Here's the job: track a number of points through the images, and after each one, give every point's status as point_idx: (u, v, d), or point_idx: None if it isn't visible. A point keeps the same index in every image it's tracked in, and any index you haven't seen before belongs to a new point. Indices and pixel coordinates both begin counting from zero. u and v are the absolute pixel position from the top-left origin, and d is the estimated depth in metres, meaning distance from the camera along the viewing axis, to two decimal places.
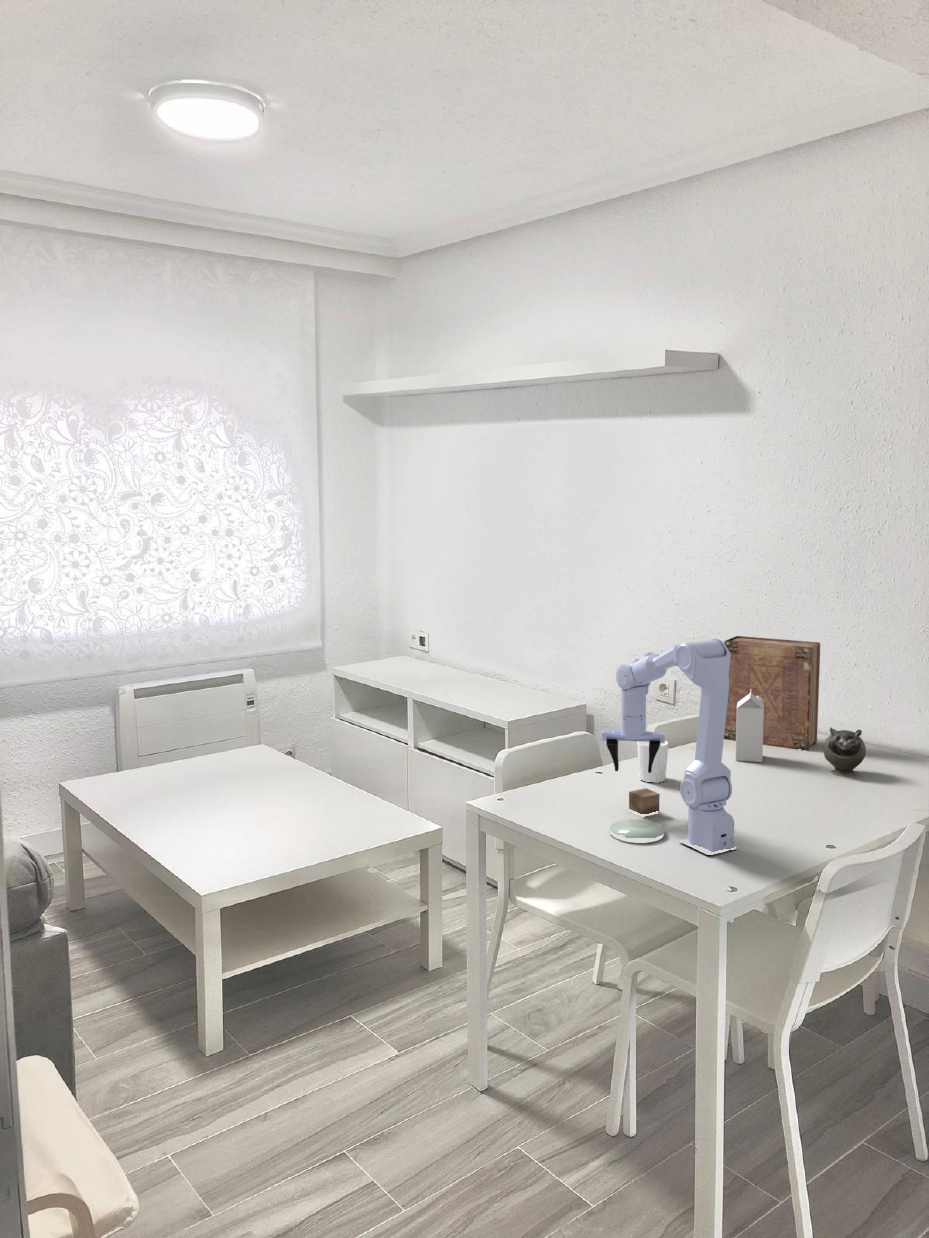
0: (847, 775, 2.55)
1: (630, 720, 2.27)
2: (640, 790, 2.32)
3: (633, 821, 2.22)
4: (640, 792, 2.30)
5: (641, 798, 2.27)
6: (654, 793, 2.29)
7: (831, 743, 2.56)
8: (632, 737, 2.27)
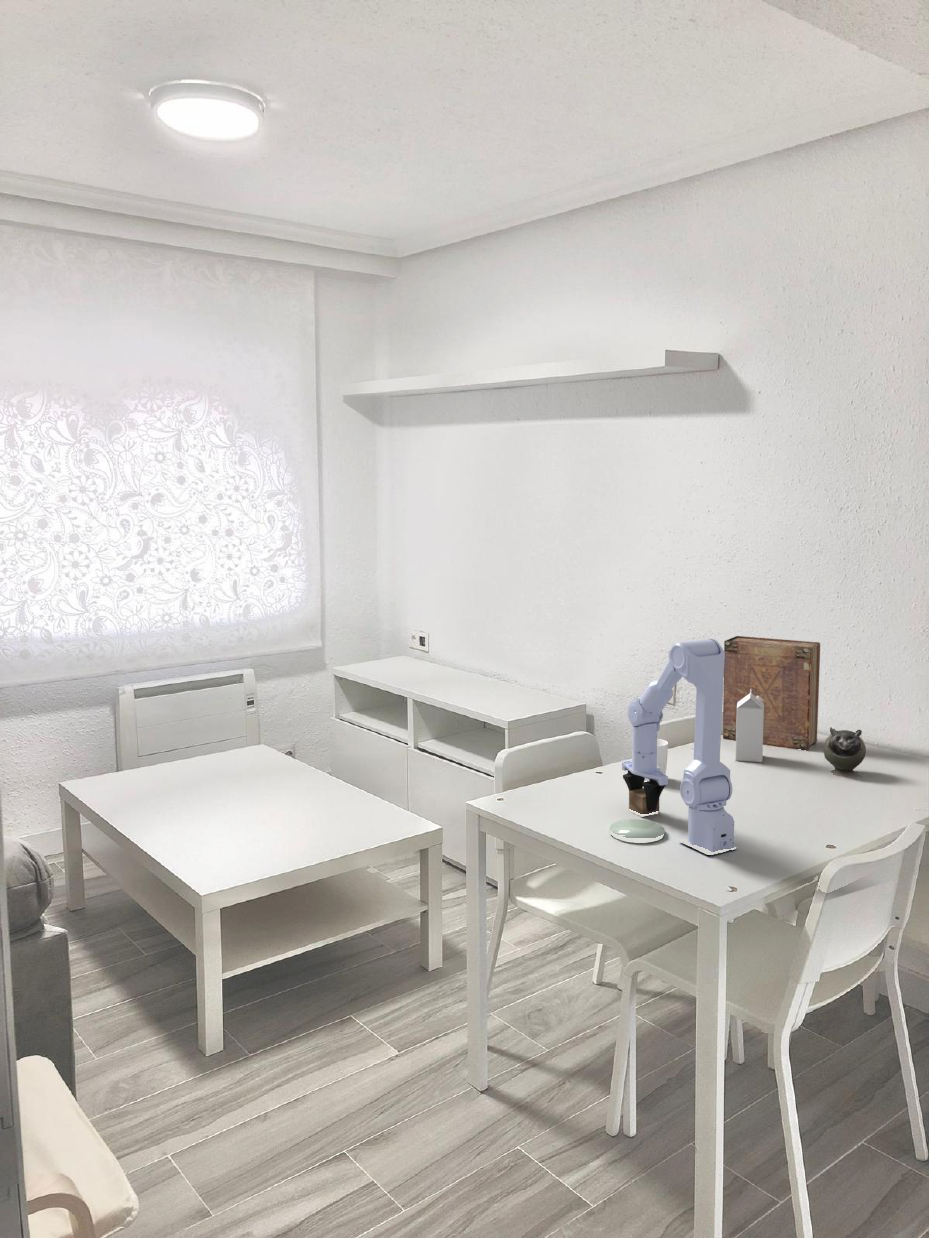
0: (847, 775, 2.55)
1: (633, 755, 2.28)
2: (640, 790, 2.32)
3: (633, 821, 2.22)
4: (640, 792, 2.30)
5: (641, 798, 2.27)
6: None
7: (831, 743, 2.56)
8: (633, 772, 2.28)
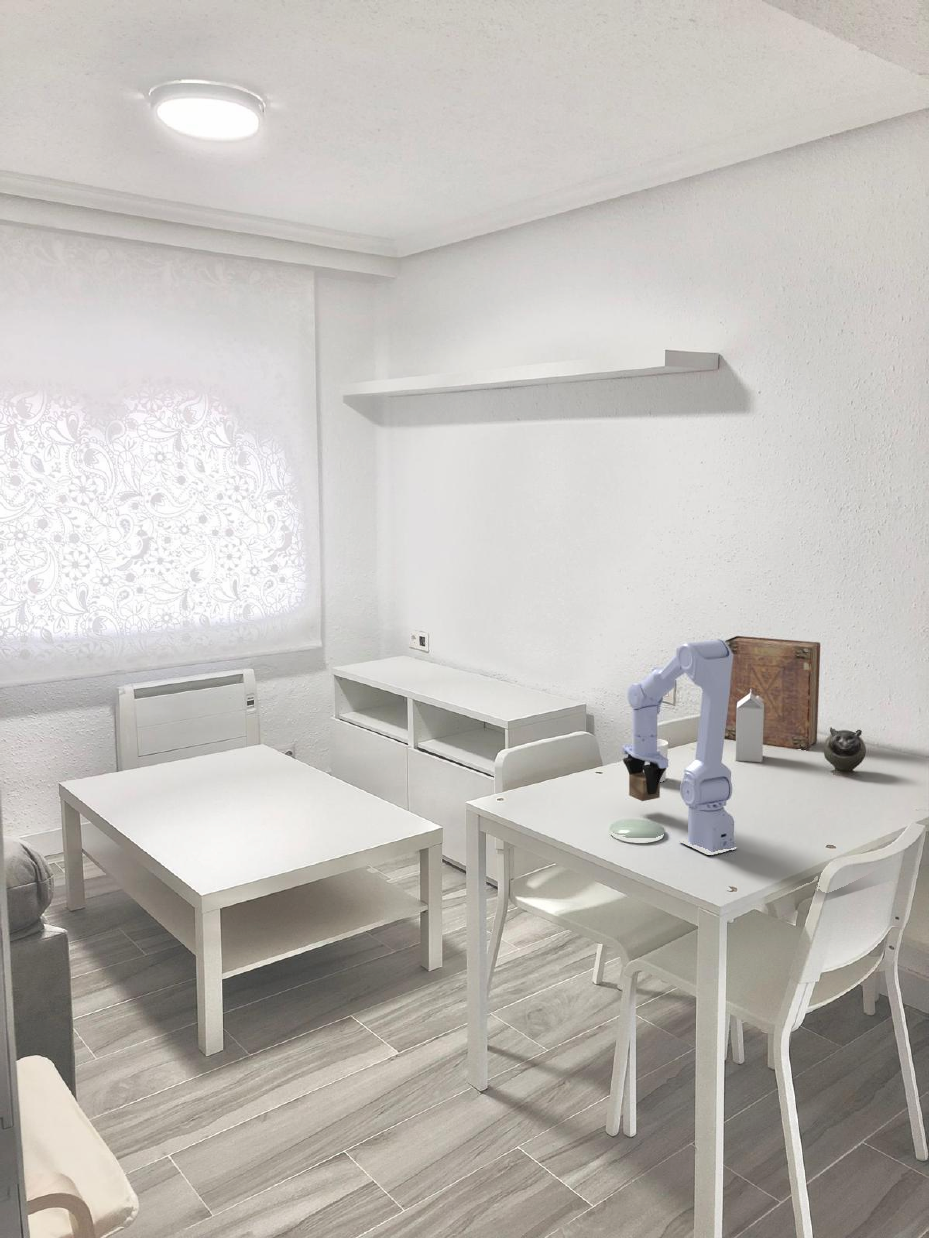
0: (847, 775, 2.55)
1: (633, 738, 2.27)
2: (640, 773, 2.31)
3: (633, 821, 2.22)
4: (640, 776, 2.29)
5: (641, 781, 2.27)
6: None
7: (831, 743, 2.56)
8: (634, 755, 2.27)
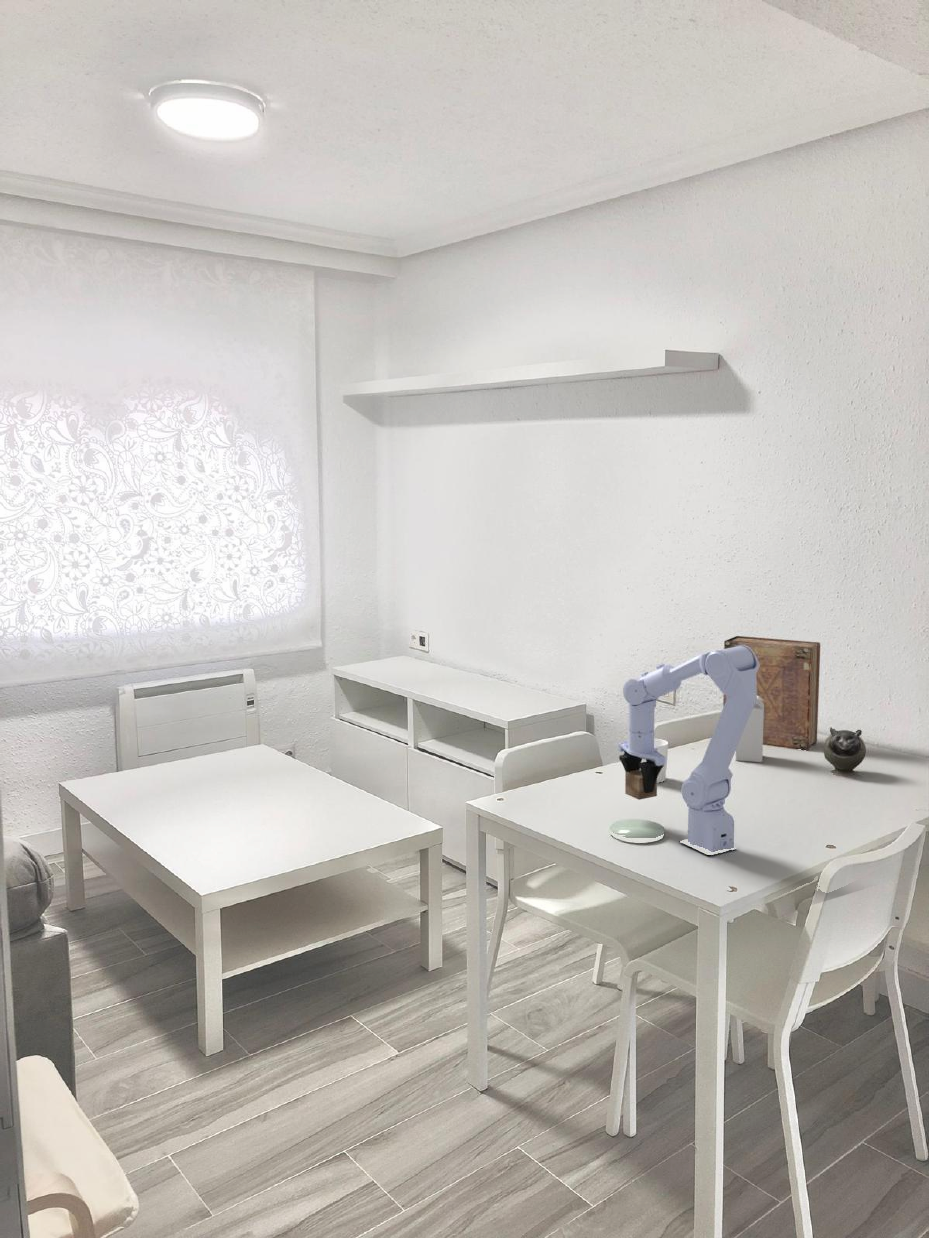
0: (847, 775, 2.55)
1: (629, 734, 2.20)
2: (637, 771, 2.23)
3: (633, 821, 2.22)
4: (637, 773, 2.22)
5: (638, 779, 2.19)
6: None
7: (831, 743, 2.56)
8: (630, 752, 2.20)
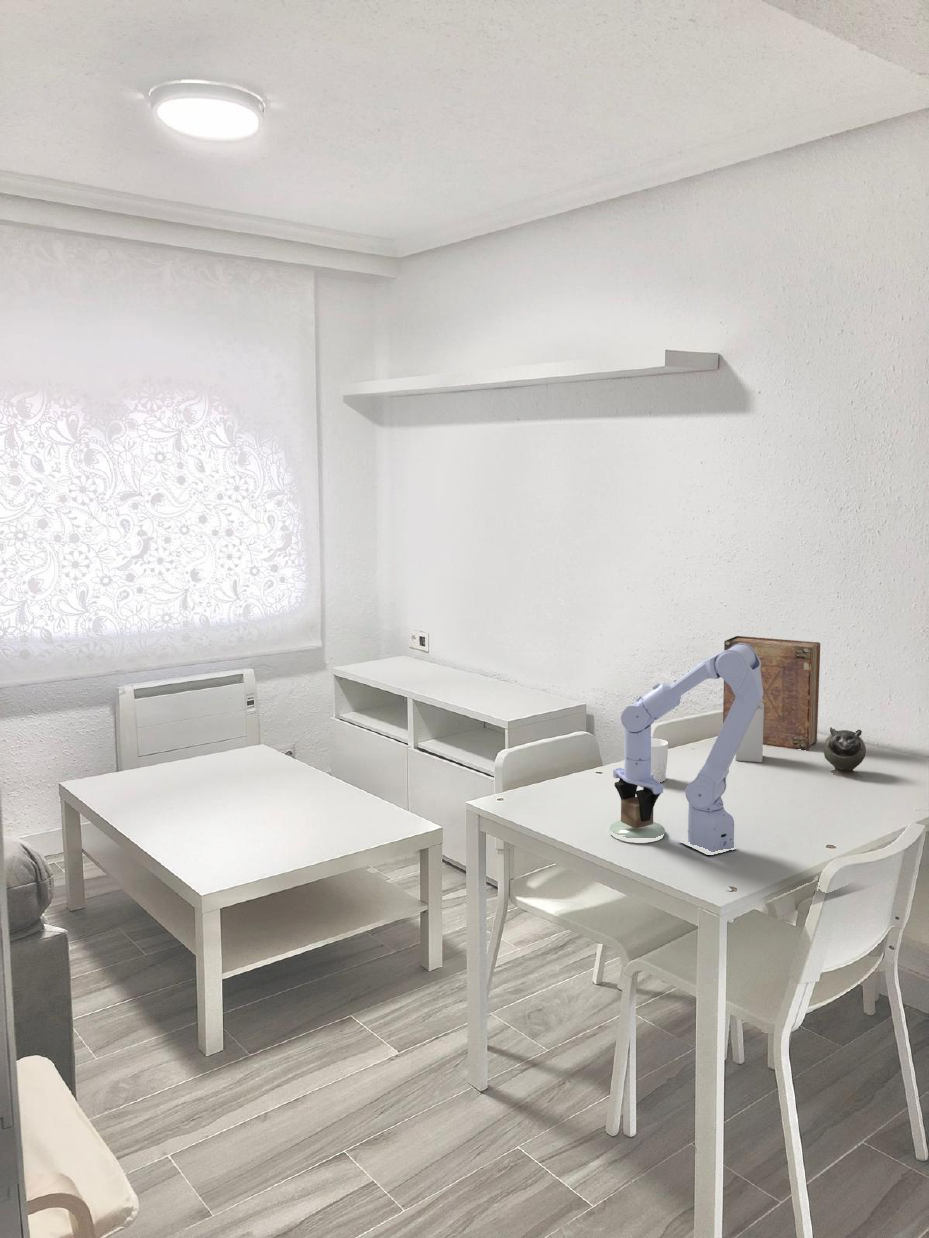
0: (847, 775, 2.55)
1: (626, 761, 2.14)
2: (633, 798, 2.18)
3: None
4: (633, 801, 2.16)
5: (634, 807, 2.13)
6: None
7: (831, 743, 2.56)
8: (626, 780, 2.14)
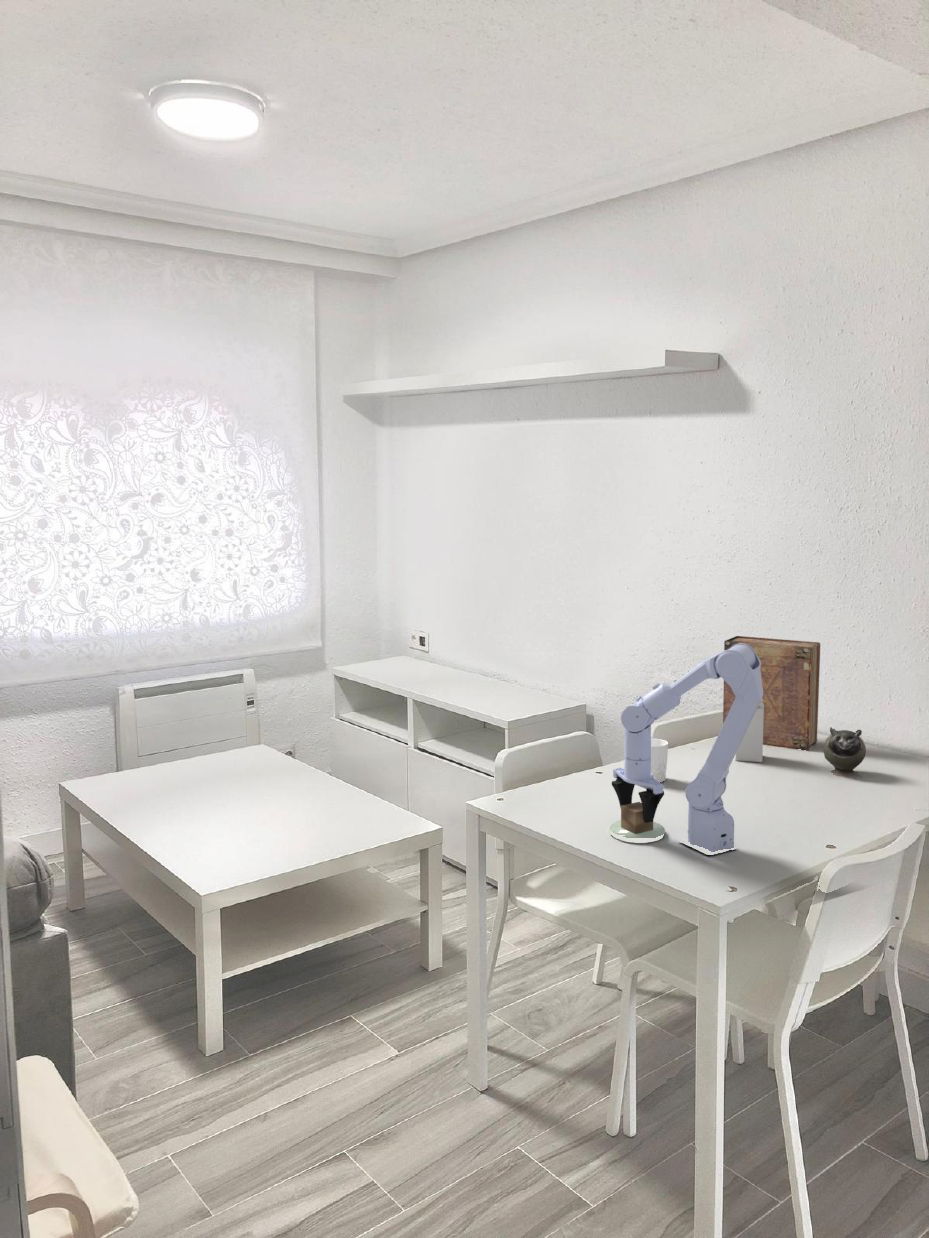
0: (847, 775, 2.55)
1: (626, 761, 2.14)
2: (633, 804, 2.18)
3: None
4: (633, 807, 2.16)
5: (634, 813, 2.14)
6: None
7: (831, 743, 2.56)
8: (626, 780, 2.14)
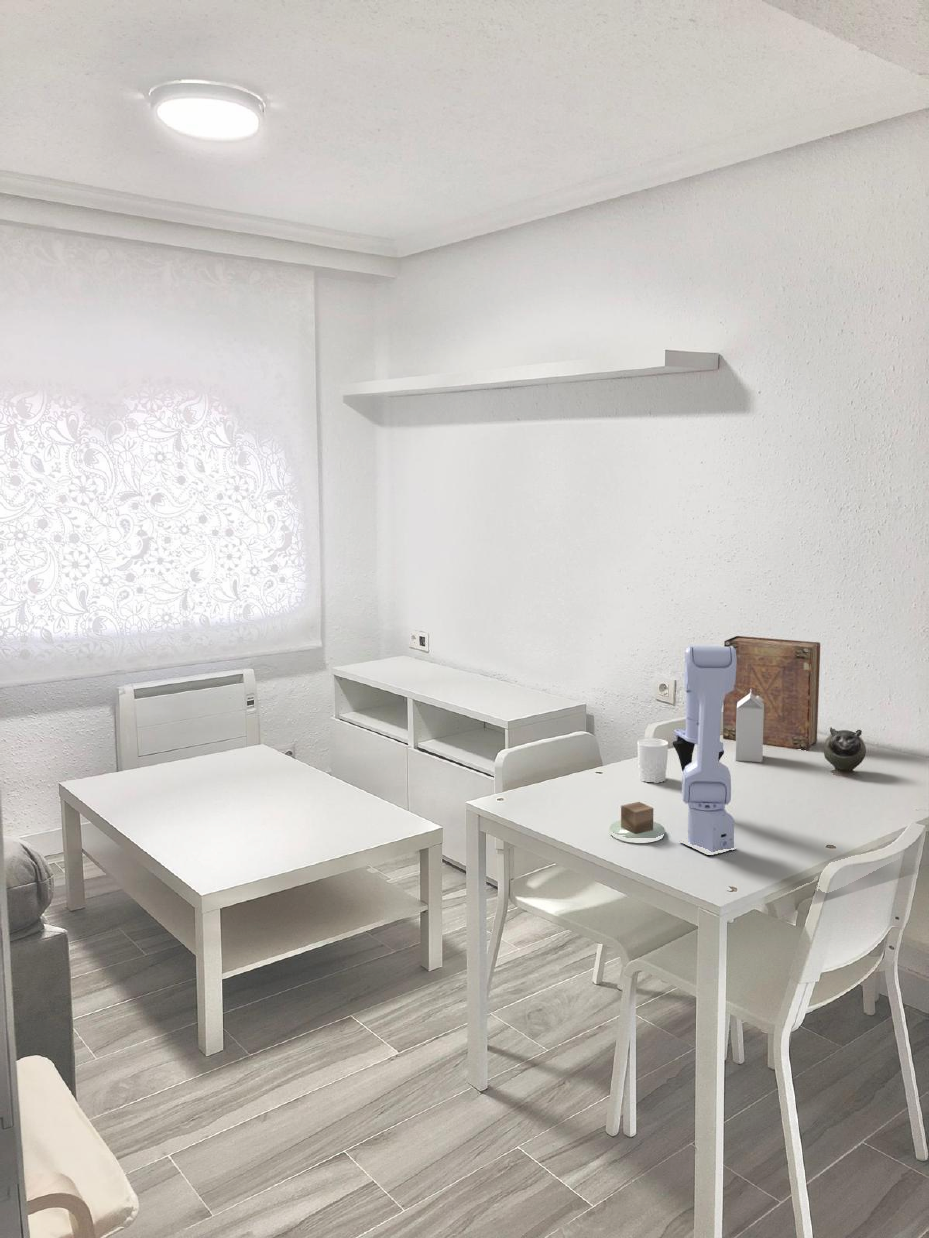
0: (847, 775, 2.55)
1: (687, 722, 2.25)
2: (633, 804, 2.18)
3: None
4: (633, 807, 2.16)
5: (634, 813, 2.14)
6: (648, 807, 2.16)
7: (831, 743, 2.56)
8: (687, 739, 2.25)
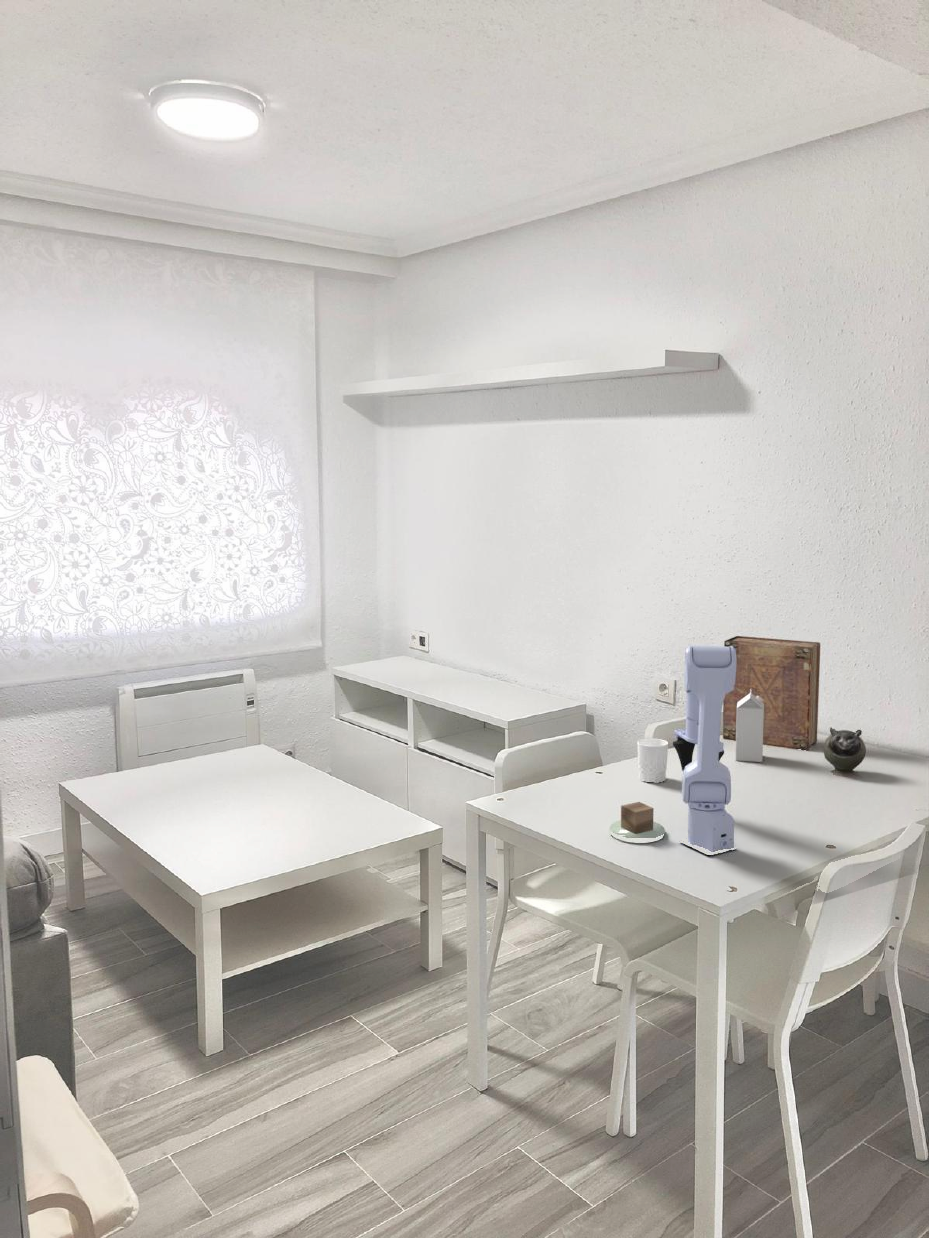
0: (847, 775, 2.55)
1: (687, 722, 2.25)
2: (633, 804, 2.18)
3: None
4: (633, 807, 2.16)
5: (634, 813, 2.14)
6: (648, 807, 2.16)
7: (831, 743, 2.56)
8: (688, 739, 2.25)
